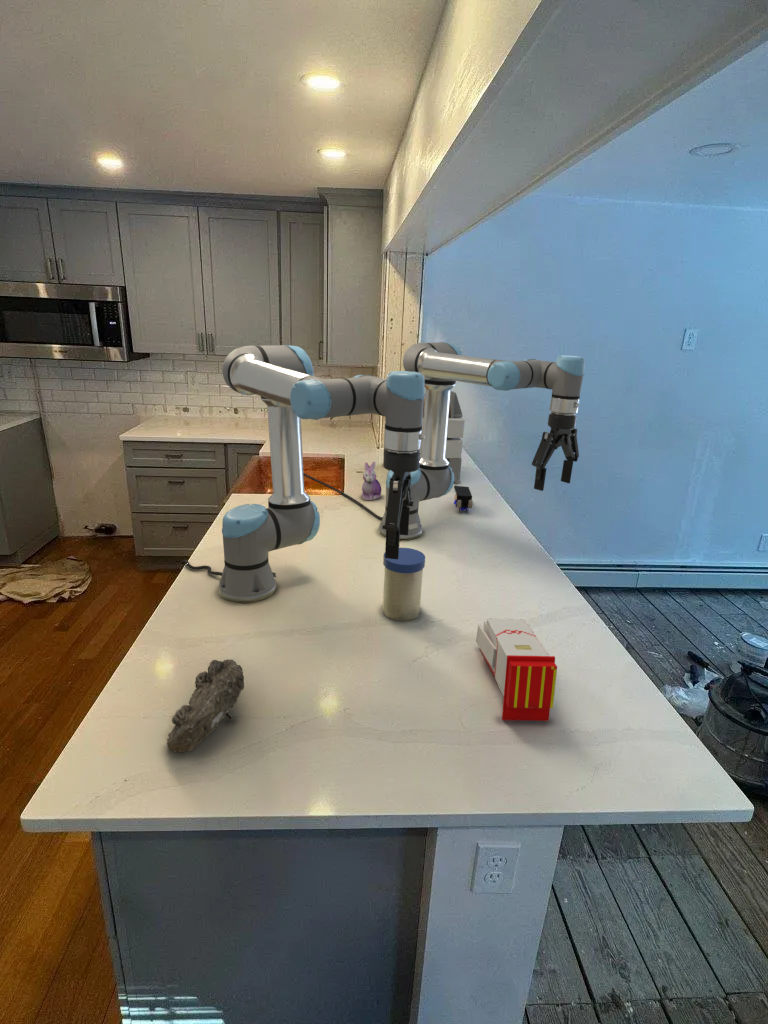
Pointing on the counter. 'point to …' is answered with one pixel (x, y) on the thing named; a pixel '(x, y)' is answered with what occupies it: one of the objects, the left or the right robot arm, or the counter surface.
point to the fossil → (206, 705)
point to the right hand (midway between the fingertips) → (552, 485)
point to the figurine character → (463, 498)
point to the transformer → (453, 436)
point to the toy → (519, 668)
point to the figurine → (370, 483)
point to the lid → (406, 561)
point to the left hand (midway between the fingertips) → (397, 545)
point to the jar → (402, 595)
